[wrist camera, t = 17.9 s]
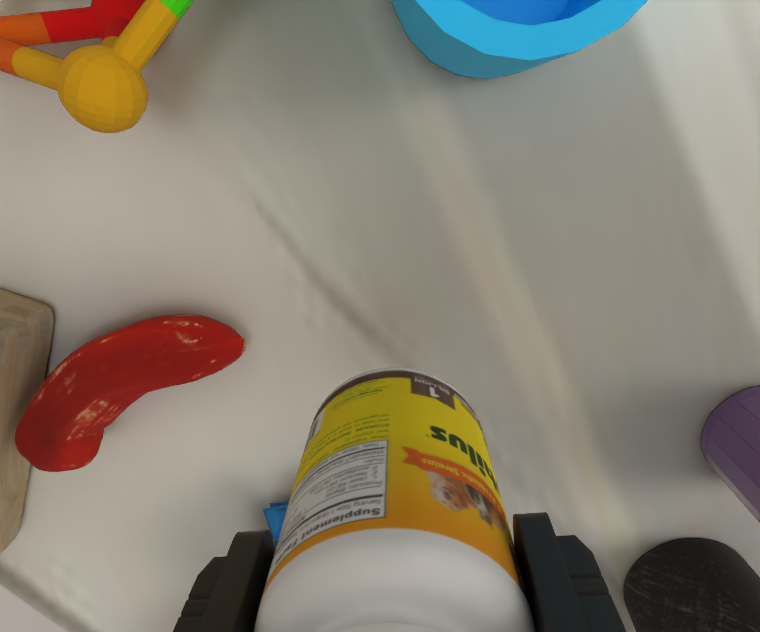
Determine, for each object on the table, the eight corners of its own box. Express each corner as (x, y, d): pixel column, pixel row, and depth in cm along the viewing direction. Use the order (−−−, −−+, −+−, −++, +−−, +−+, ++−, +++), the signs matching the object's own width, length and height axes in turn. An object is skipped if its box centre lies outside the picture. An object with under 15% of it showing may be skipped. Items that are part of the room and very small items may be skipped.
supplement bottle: (507, 470, 18) (629, 868, 9) (358, 525, 19) (318, 938, 10) (439, 330, 17) (497, 627, 7) (280, 398, 18) (137, 741, 8)
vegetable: (77, 517, 27) (255, 364, 25) (-33, 473, 24) (160, 295, 22) (90, 451, 30) (246, 314, 29) (-4, 406, 27) (164, 249, 26)
